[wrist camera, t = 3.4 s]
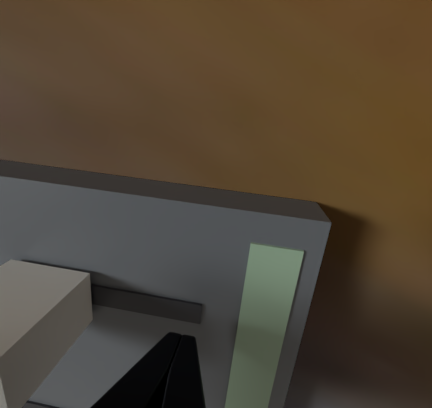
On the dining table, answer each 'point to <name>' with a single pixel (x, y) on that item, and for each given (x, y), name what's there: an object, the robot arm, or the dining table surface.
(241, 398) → the switch panel
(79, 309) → the breaker
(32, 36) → the dining table surface
